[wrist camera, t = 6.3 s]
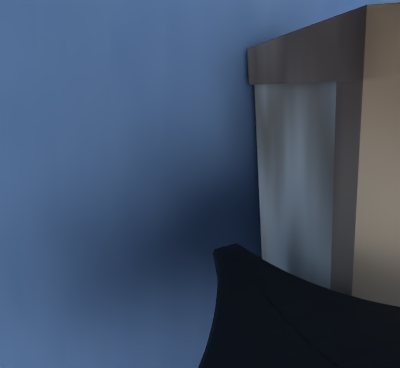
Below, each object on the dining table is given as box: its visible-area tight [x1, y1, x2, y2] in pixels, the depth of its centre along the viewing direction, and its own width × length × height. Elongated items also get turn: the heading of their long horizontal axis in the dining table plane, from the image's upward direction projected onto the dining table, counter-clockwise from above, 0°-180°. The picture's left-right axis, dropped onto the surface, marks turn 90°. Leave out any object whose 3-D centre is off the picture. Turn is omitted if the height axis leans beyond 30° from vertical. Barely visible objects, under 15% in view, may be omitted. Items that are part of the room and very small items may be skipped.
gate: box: [247, 3, 400, 307], centre depth 11 cm, size 18×2×6 cm, turn 6°
